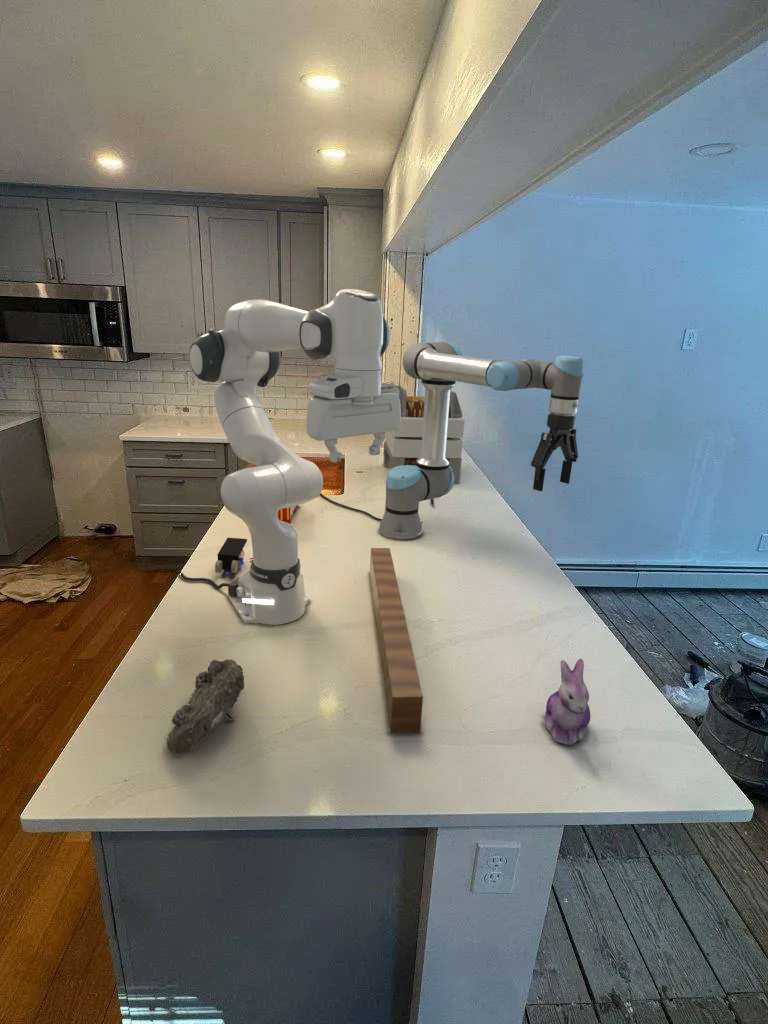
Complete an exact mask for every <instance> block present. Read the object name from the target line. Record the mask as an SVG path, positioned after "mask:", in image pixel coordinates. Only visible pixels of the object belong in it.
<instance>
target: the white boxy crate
mask: <svg viewBox="0 0 768 1024" xmlns="http://www.w3.org/2000/svg"><path fill="white" fill-rule="evenodd" d="M396 386H397V387H398V389H399V400H400V408H401V425H400V427H399V429H398V430H395V431H388V432H386V434H385V439H384V441H383V466H384V467H388V468H389V470H390V469H392V468H394V467H396V466H401V465H404V466H405V465H413V466H416V461H417V459H418V458H420V457H421V449H422V434H423V418H424V402H425V396H415V395H414V396H413V395H412V396H411V395H407V394H408V393H407V390H406V389H404V388H403V387H402V385H399V384H398V385H396ZM464 429H465V419H464V418H463V411H462V408H461V405H460V402H459V398H458V395H457V392H455V391H453V390H452V389H451V390H450V402H449V415H448V428H447V441H446V453H445V458H446V459H447V460H448V462H449V466H450V467H451V469H452V473H454V484H455V483H456V484H459V483H461V472H462V461H463V460H462V453H463V442H464V441H463V440H462V439H463V438H464V431H465V430H464Z"/></svg>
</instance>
